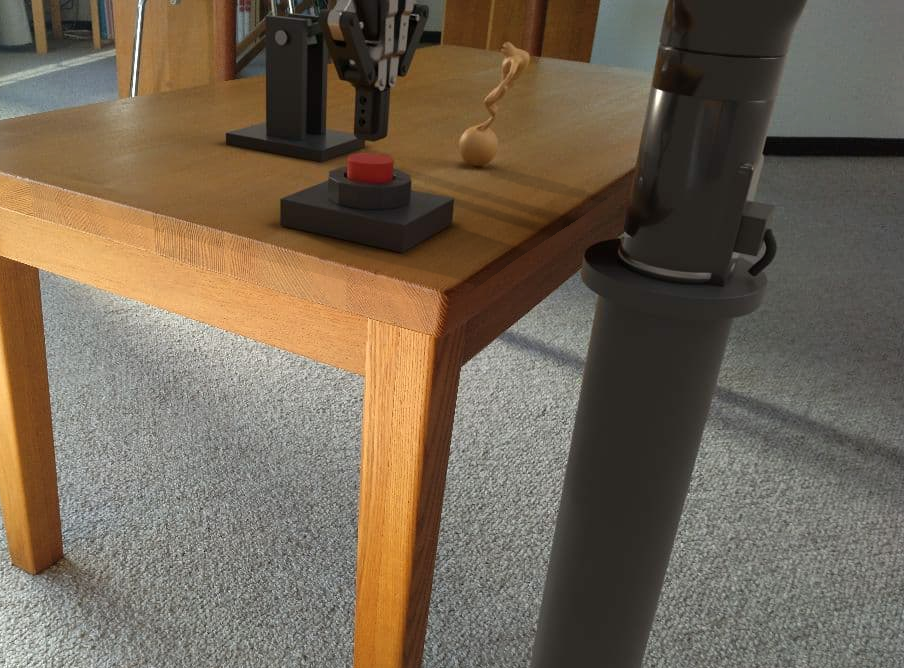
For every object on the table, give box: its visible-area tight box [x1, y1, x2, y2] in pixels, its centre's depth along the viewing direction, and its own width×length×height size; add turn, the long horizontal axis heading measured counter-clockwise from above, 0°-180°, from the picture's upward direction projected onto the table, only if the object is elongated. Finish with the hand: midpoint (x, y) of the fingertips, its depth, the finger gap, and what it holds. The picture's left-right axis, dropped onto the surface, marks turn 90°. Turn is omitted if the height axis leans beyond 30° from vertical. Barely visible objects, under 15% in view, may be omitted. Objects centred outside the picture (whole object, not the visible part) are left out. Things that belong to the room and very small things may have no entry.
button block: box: [279, 166, 455, 254], centre depth 71 cm, size 11×9×4 cm
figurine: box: [458, 41, 531, 167], centre depth 89 cm, size 8×6×12 cm
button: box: [346, 152, 395, 183], centre depth 70 cm, size 4×4×2 cm
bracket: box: [225, 12, 366, 163], centre depth 93 cm, size 12×9×13 cm
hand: (370, 138), depth 69 cm, fingers closed
